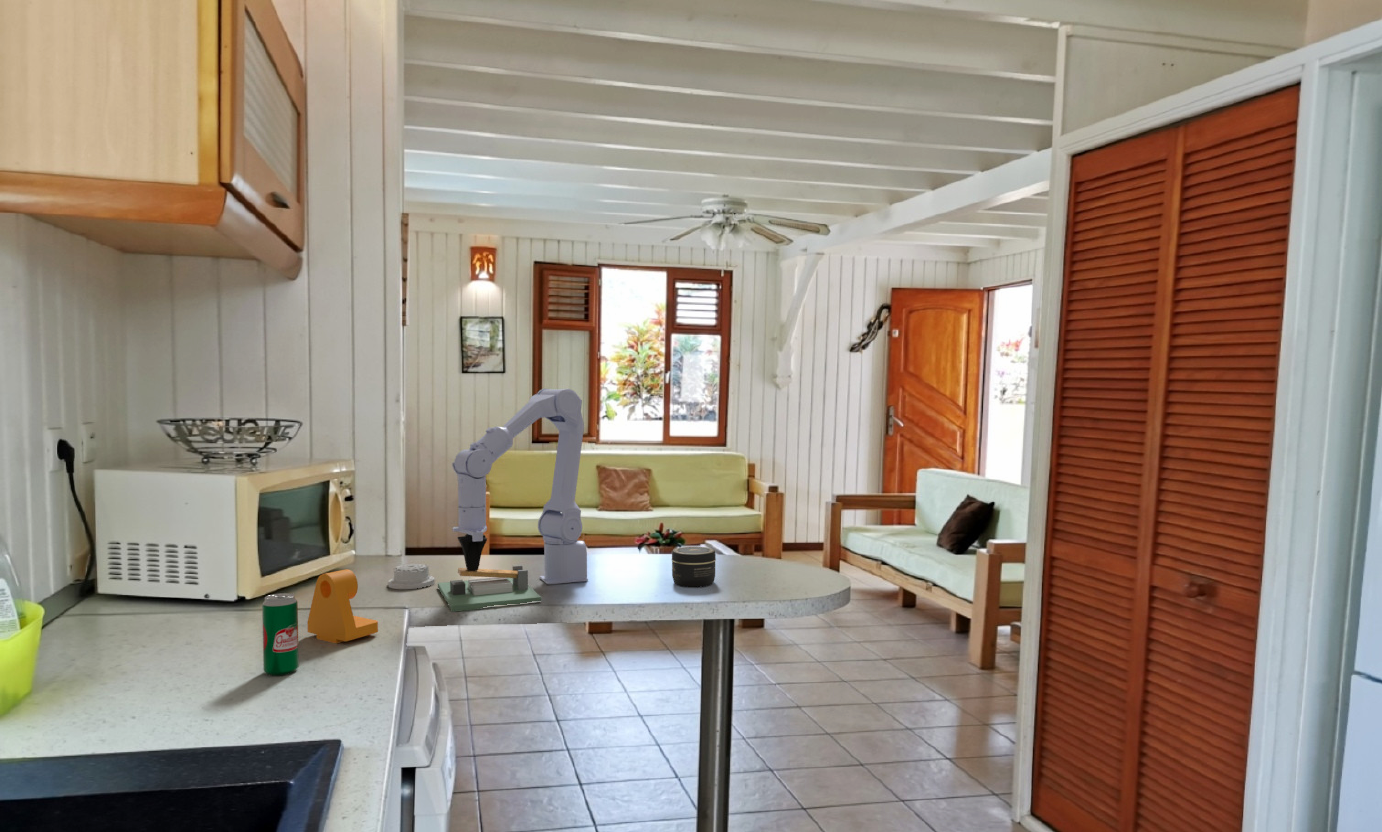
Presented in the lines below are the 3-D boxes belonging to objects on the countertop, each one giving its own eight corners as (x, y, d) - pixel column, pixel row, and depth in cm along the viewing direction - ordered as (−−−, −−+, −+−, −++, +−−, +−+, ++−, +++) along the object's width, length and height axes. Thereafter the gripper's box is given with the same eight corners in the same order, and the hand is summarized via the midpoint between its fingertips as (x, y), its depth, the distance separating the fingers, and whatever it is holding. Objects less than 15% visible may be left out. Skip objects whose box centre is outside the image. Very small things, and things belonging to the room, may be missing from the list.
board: (518, 581, 204) (518, 558, 204) (541, 602, 184) (540, 577, 184) (437, 588, 197) (437, 564, 197) (451, 611, 177) (451, 585, 177)
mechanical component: (381, 591, 196) (426, 590, 196) (381, 571, 196) (426, 571, 196) (397, 580, 206) (439, 580, 206) (396, 562, 206) (439, 561, 206)
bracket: (380, 636, 161) (379, 570, 160) (345, 646, 154) (344, 577, 154) (342, 627, 166) (341, 563, 166) (307, 636, 160) (306, 570, 160)
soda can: (276, 678, 137) (274, 601, 137) (256, 673, 140) (255, 597, 139) (305, 669, 141) (304, 594, 141) (286, 664, 144) (284, 591, 144)
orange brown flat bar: (521, 576, 195) (521, 569, 195) (524, 579, 192) (525, 573, 192) (457, 573, 190) (458, 566, 190) (460, 577, 186) (461, 570, 186)
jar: (664, 581, 204) (664, 548, 204) (702, 577, 208) (702, 544, 208) (684, 590, 195) (683, 555, 195) (723, 585, 200) (723, 551, 199)
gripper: (448, 503, 194) (448, 565, 194) (457, 511, 181) (458, 578, 181) (480, 501, 197) (481, 562, 197) (492, 509, 183) (493, 575, 184)
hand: (472, 570), depth 189 cm, fingers closed, pressing on orange brown flat bar
